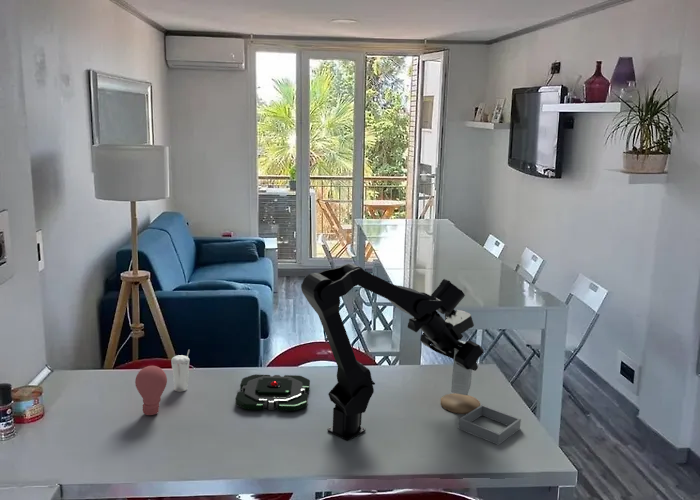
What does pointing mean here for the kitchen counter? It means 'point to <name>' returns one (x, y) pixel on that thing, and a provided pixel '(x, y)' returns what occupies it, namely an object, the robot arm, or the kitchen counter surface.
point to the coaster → (459, 403)
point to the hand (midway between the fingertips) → (467, 363)
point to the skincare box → (460, 378)
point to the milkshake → (180, 372)
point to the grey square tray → (484, 432)
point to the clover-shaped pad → (273, 392)
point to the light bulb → (151, 387)
